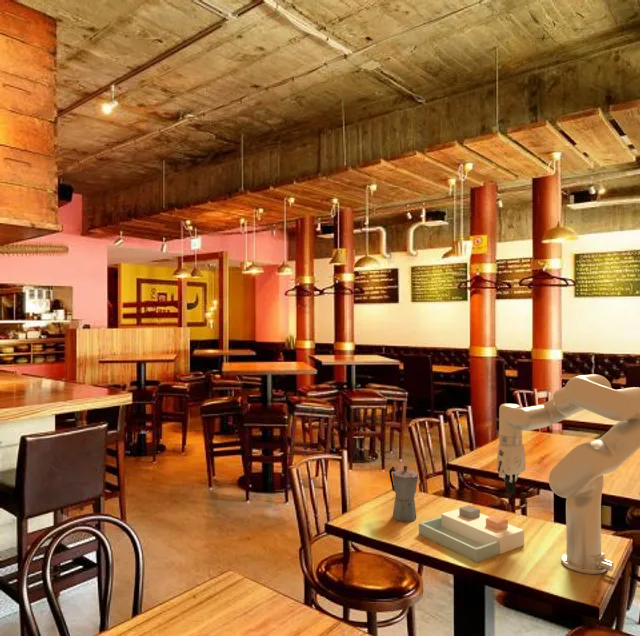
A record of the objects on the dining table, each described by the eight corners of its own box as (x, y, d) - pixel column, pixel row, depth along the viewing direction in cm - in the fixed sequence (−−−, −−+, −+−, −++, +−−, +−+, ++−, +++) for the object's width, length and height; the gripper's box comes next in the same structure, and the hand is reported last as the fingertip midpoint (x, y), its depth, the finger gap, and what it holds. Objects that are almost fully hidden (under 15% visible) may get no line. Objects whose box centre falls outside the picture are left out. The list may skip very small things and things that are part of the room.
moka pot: (410, 527, 193) (409, 472, 193) (380, 515, 205) (379, 463, 205) (427, 520, 199) (426, 467, 199) (396, 509, 211) (396, 459, 211)
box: (499, 554, 169) (499, 541, 169) (476, 562, 164) (476, 549, 164) (440, 527, 192) (440, 516, 192) (418, 534, 186) (418, 523, 186)
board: (524, 545, 176) (524, 530, 176) (500, 554, 170) (499, 538, 170) (464, 520, 198) (464, 507, 198) (441, 527, 192) (441, 513, 192)
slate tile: (479, 516, 189) (479, 509, 189) (470, 519, 186) (469, 512, 186) (469, 512, 193) (469, 505, 193) (459, 515, 190) (459, 508, 190)
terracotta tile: (507, 527, 178) (507, 519, 178) (497, 530, 176) (497, 523, 176) (495, 522, 183) (495, 515, 183) (485, 525, 180) (485, 518, 180)
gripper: (505, 445, 177) (505, 499, 177) (533, 439, 185) (533, 491, 185) (487, 440, 183) (487, 493, 183) (515, 434, 191) (515, 485, 191)
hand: (510, 492), depth 184 cm, fingers closed
